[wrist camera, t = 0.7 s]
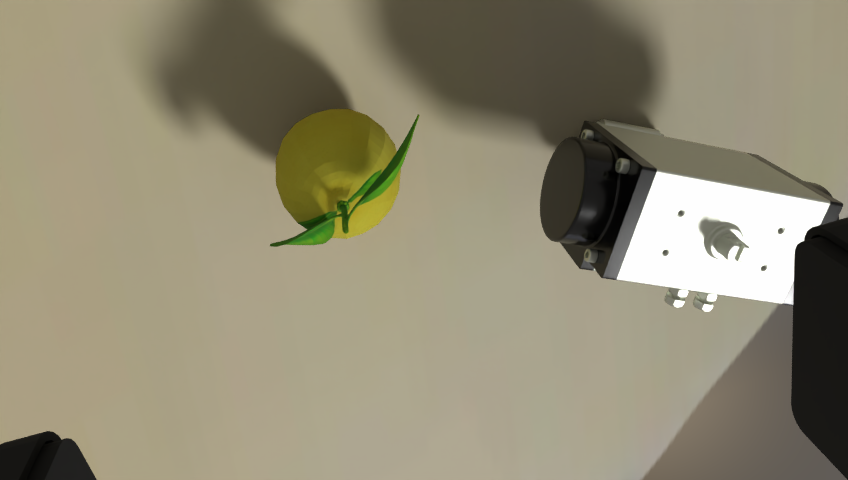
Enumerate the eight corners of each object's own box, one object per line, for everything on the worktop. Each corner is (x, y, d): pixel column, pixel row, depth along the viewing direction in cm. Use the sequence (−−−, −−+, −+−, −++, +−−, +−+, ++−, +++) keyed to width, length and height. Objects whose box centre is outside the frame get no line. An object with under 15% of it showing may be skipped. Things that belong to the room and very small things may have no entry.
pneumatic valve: (524, 88, 36) (619, 170, 25) (730, 131, 39) (894, 220, 28) (495, 191, 38) (571, 307, 27) (692, 225, 41) (831, 342, 30)
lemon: (398, 76, 35) (432, 138, 26) (408, 190, 37) (441, 283, 28) (256, 91, 34) (241, 160, 25) (276, 206, 37) (268, 306, 28)
